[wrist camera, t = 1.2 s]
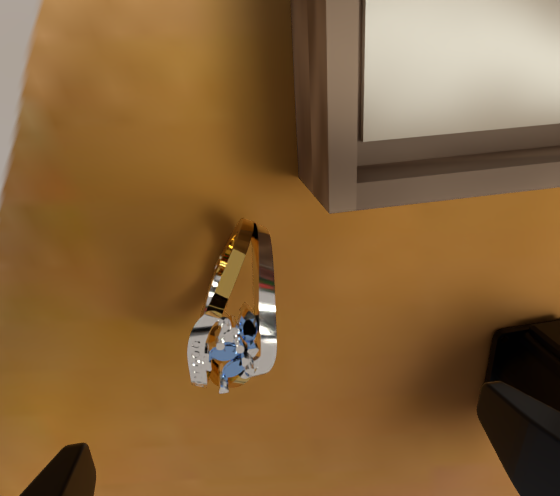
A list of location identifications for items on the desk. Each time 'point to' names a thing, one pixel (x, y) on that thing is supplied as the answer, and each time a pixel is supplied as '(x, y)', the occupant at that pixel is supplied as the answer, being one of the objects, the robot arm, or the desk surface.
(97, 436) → the desk surface
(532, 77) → the base
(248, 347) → the ring
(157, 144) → the desk surface
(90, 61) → the desk surface
